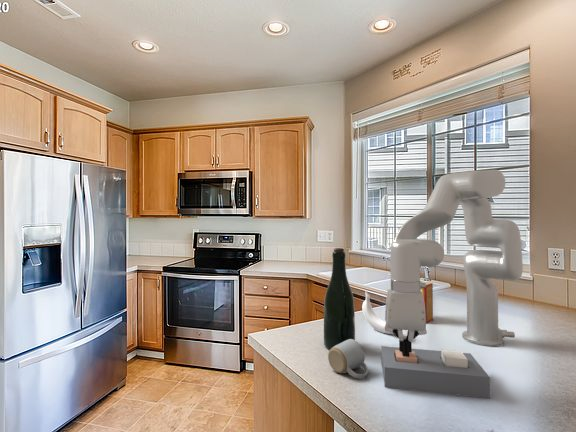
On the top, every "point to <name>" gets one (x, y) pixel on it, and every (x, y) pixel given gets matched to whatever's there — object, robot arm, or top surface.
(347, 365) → the ceramic mug
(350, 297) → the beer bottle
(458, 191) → the robot arm
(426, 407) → the top surface
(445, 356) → the white key
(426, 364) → the key panel
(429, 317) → the baking soda box
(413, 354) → the light orange cube
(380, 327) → the banana
